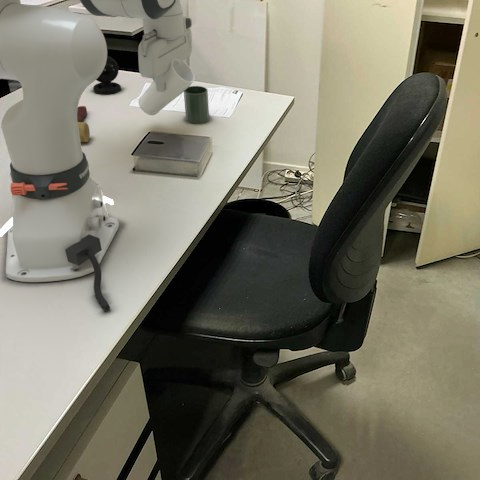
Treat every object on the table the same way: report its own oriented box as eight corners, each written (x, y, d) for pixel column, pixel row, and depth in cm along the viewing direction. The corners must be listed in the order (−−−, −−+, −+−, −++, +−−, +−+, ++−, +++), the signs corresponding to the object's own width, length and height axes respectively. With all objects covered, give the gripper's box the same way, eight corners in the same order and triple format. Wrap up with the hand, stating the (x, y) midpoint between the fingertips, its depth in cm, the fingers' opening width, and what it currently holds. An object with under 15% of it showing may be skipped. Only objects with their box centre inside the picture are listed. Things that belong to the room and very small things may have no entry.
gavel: (63, 98, 144) (103, 99, 145) (66, 115, 146) (105, 115, 147) (37, 125, 126) (83, 126, 127) (41, 144, 128) (86, 144, 130)
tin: (209, 123, 144) (207, 94, 140) (186, 124, 143) (183, 94, 139) (208, 114, 149) (207, 85, 144) (186, 115, 148) (183, 86, 143)
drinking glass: (163, 113, 140) (199, 77, 132) (150, 122, 134) (187, 86, 127) (143, 92, 138) (179, 55, 131) (129, 101, 133) (166, 62, 125)
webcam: (95, 96, 155) (89, 60, 149) (91, 87, 160) (84, 52, 155) (124, 92, 158) (119, 57, 153) (118, 84, 164) (113, 50, 158)
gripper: (154, 38, 115) (161, 102, 123) (195, 17, 132) (198, 74, 139) (127, 34, 116) (135, 98, 124) (170, 14, 133) (175, 71, 140)
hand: (169, 85), depth 132 cm, fingers closed on drinking glass, 6 cm apart
